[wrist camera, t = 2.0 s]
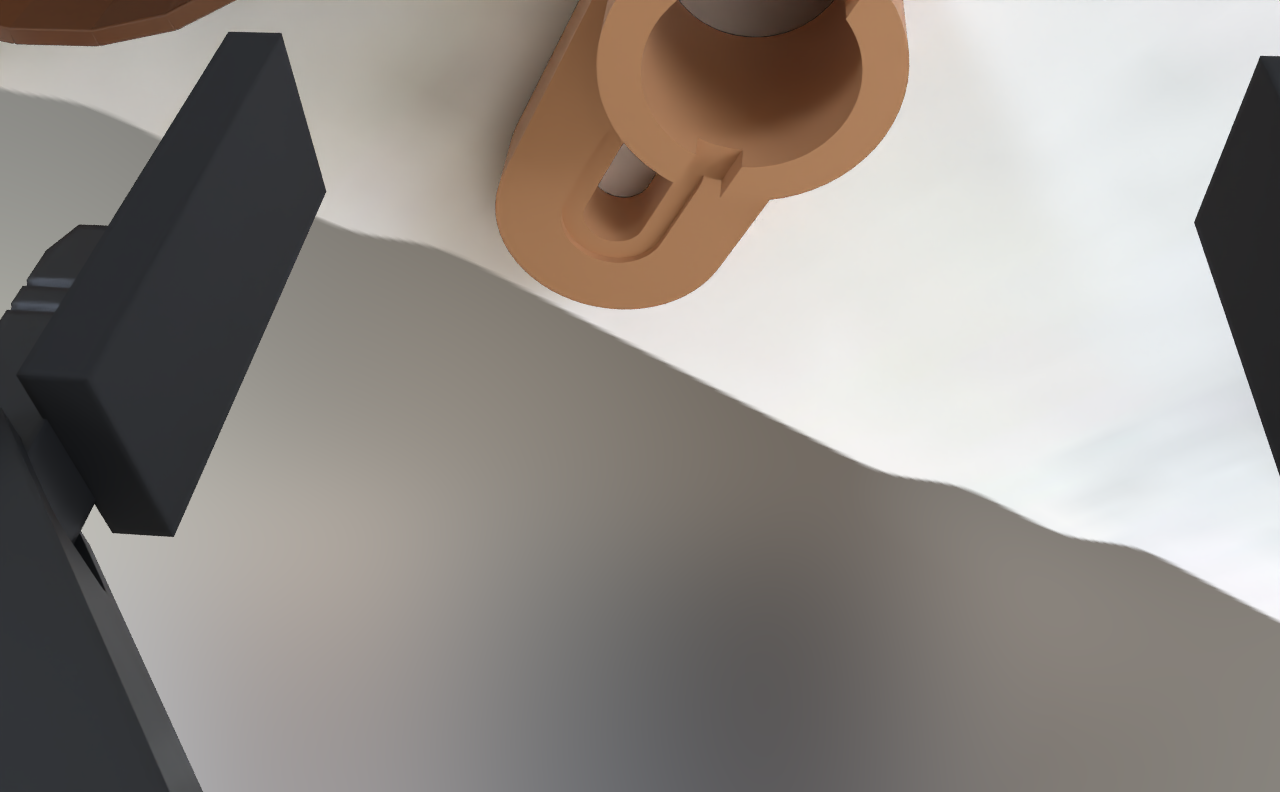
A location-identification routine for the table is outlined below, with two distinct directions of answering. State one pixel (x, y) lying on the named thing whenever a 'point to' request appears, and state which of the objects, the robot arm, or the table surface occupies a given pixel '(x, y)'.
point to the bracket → (686, 139)
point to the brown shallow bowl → (96, 19)
